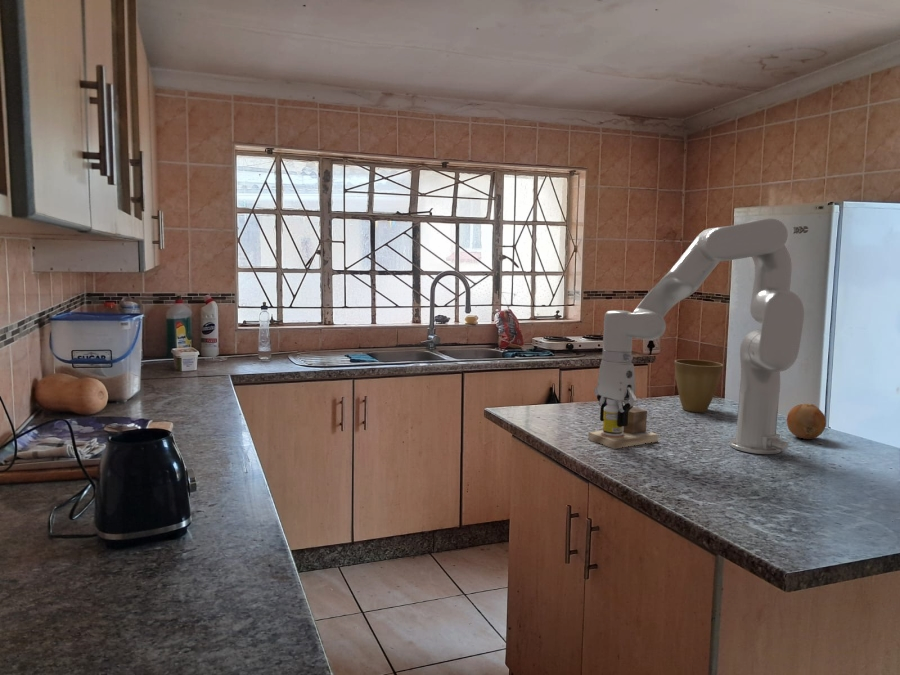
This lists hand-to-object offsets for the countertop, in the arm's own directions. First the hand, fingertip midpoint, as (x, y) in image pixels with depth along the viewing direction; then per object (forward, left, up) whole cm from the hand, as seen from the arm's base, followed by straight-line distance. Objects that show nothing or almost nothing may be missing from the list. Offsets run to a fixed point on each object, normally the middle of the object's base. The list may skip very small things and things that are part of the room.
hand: (613, 422), depth 179 cm
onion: (-21, -53, -6) cm, 57 cm away
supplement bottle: (0, 0, -3) cm, 3 cm away
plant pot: (+17, -53, -6) cm, 56 cm away
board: (0, -4, -5) cm, 7 cm away
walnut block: (0, -7, -3) cm, 8 cm away
